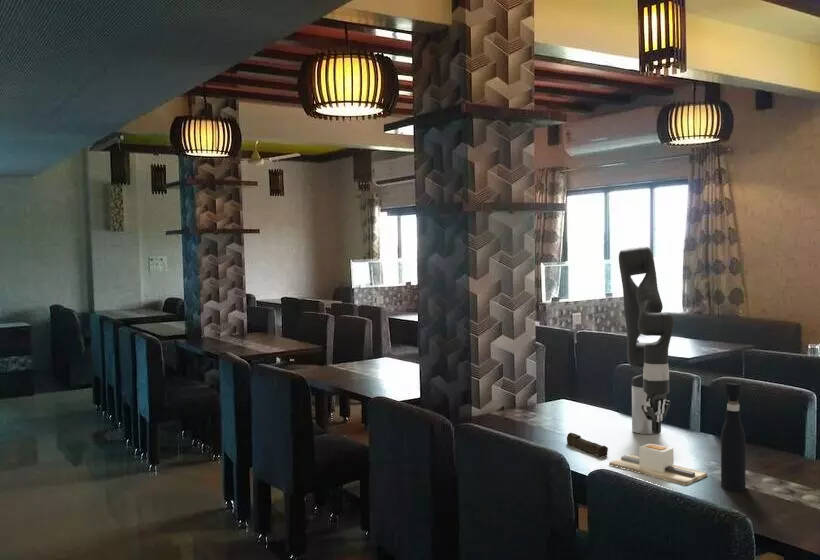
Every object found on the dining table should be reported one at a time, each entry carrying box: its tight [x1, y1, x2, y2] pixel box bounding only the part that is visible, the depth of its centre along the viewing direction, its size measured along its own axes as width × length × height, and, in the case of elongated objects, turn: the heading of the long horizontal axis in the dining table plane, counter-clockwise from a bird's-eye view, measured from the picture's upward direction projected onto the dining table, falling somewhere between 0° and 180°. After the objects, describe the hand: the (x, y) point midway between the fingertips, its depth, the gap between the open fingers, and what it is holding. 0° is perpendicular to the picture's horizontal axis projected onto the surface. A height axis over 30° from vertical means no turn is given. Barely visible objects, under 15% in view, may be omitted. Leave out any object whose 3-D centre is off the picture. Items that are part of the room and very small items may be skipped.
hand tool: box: [566, 432, 609, 458], centre depth 244 cm, size 19×4×5 cm, turn 24°
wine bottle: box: [720, 381, 747, 492], centre depth 203 cm, size 6×6×30 cm
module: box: [638, 443, 675, 473], centre depth 220 cm, size 6×8×6 cm
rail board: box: [608, 454, 708, 486], centre depth 220 cm, size 12×26×2 cm, turn 40°
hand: (656, 433), depth 220 cm, fingers closed
